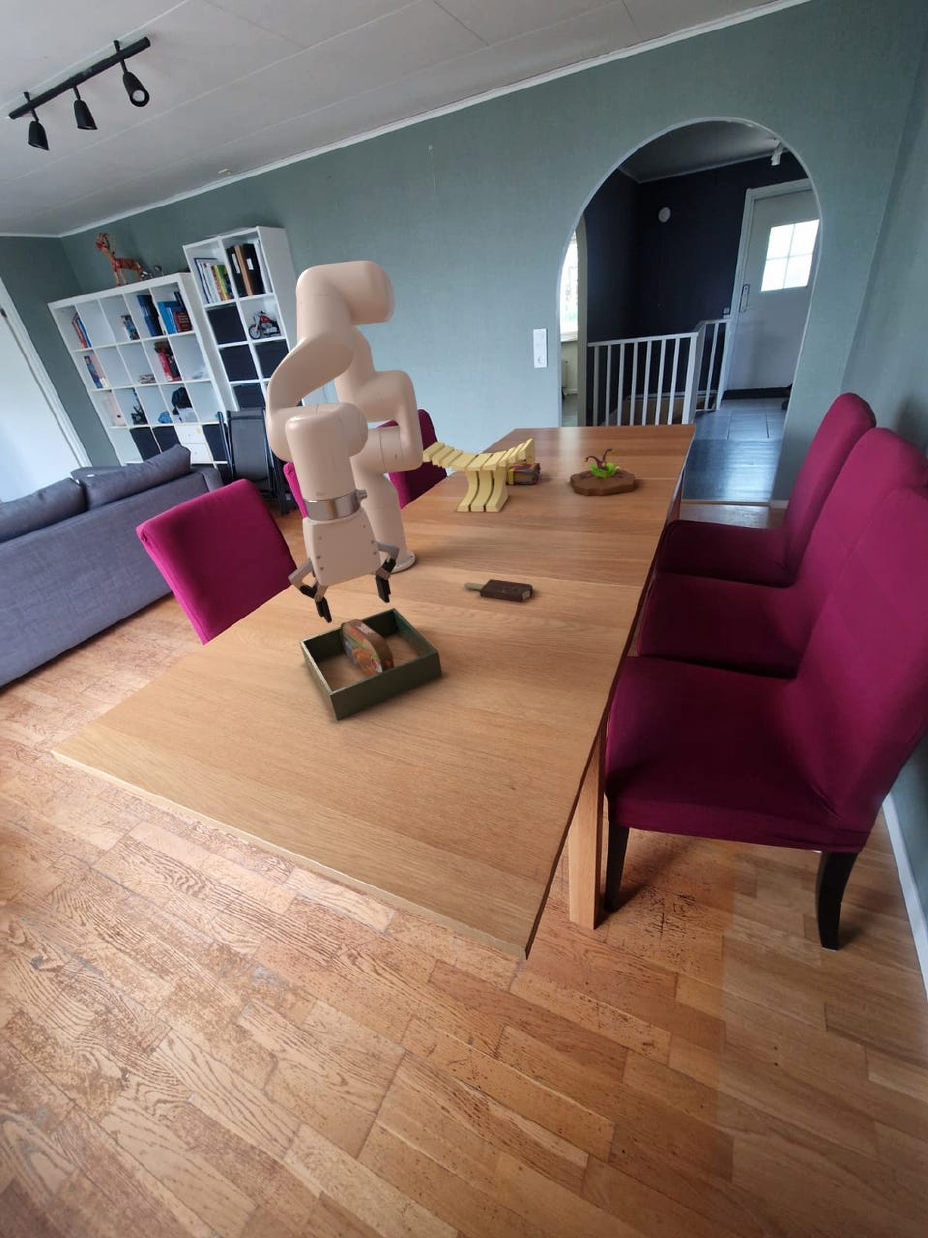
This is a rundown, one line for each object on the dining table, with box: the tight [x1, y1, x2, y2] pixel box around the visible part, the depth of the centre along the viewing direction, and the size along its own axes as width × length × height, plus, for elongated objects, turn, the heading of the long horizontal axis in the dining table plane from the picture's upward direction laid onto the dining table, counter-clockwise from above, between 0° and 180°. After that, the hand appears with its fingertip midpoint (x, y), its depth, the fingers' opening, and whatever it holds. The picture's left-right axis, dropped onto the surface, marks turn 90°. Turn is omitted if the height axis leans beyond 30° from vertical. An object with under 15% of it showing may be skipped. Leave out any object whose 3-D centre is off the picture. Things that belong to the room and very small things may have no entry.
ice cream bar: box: [463, 578, 534, 603], centre depth 107 cm, size 5×2×15 cm
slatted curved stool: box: [423, 437, 536, 513], centre depth 154 cm, size 30×16×18 cm, turn 74°
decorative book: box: [505, 462, 542, 485], centre depth 175 cm, size 11×16×5 cm
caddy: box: [298, 607, 443, 722], centre depth 87 cm, size 18×18×5 cm
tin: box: [339, 618, 395, 678], centre depth 86 cm, size 15×3×8 cm, turn 37°
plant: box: [569, 448, 637, 496], centre depth 159 cm, size 20×20×11 cm
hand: (356, 609), depth 82 cm, fingers open, 9 cm apart
